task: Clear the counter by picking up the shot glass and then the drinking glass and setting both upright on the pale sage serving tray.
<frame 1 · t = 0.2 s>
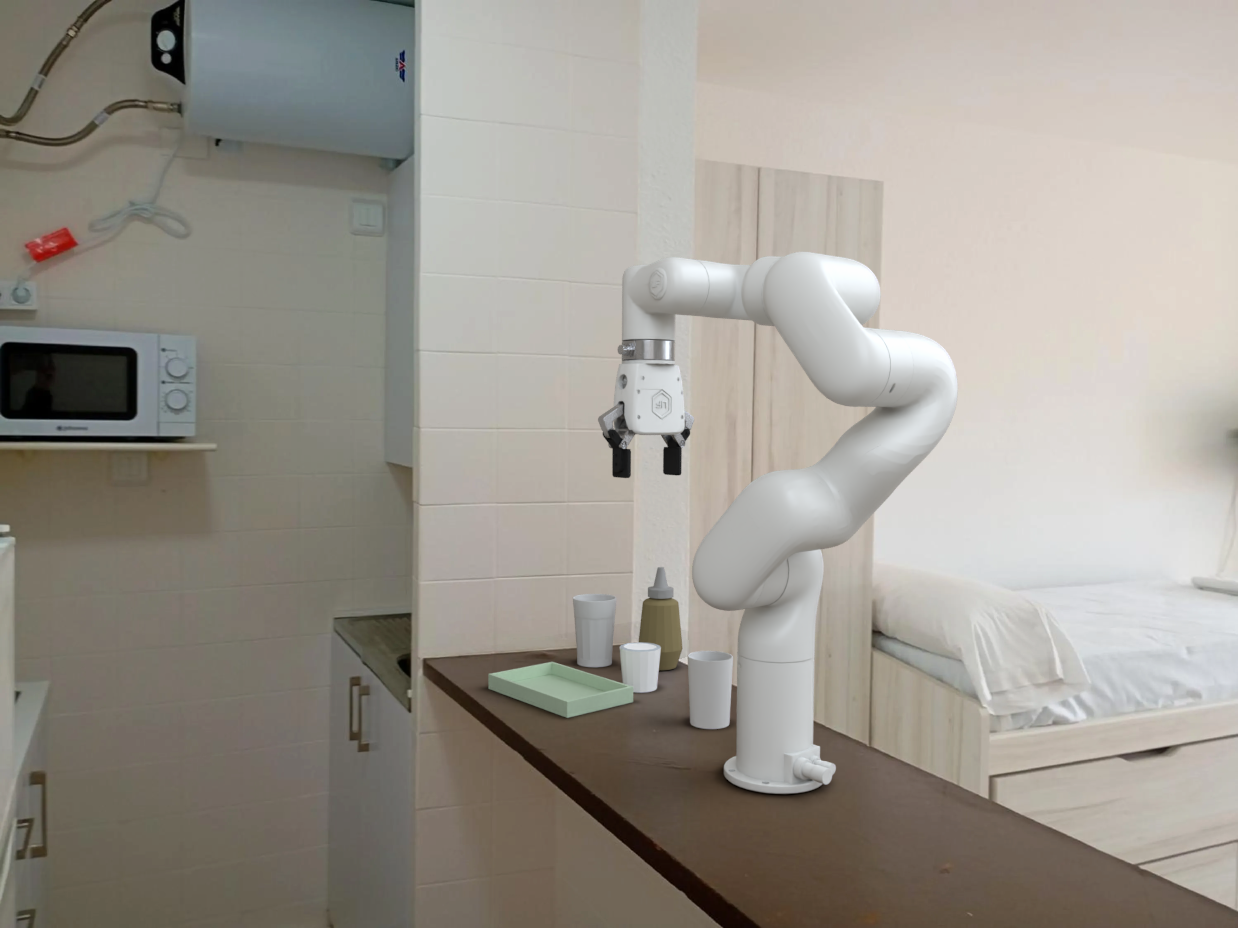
hand: (647, 476, 146), 37 cm above the counter, tool pointing down, fingers open, 9 cm apart
cup: (594, 663, 188), on the counter
drinking glass: (709, 724, 152), on the counter
shot glass: (639, 689, 171), on the counter
squeeze bottle: (660, 668, 185), on the counter
tray: (559, 695, 166), on the counter
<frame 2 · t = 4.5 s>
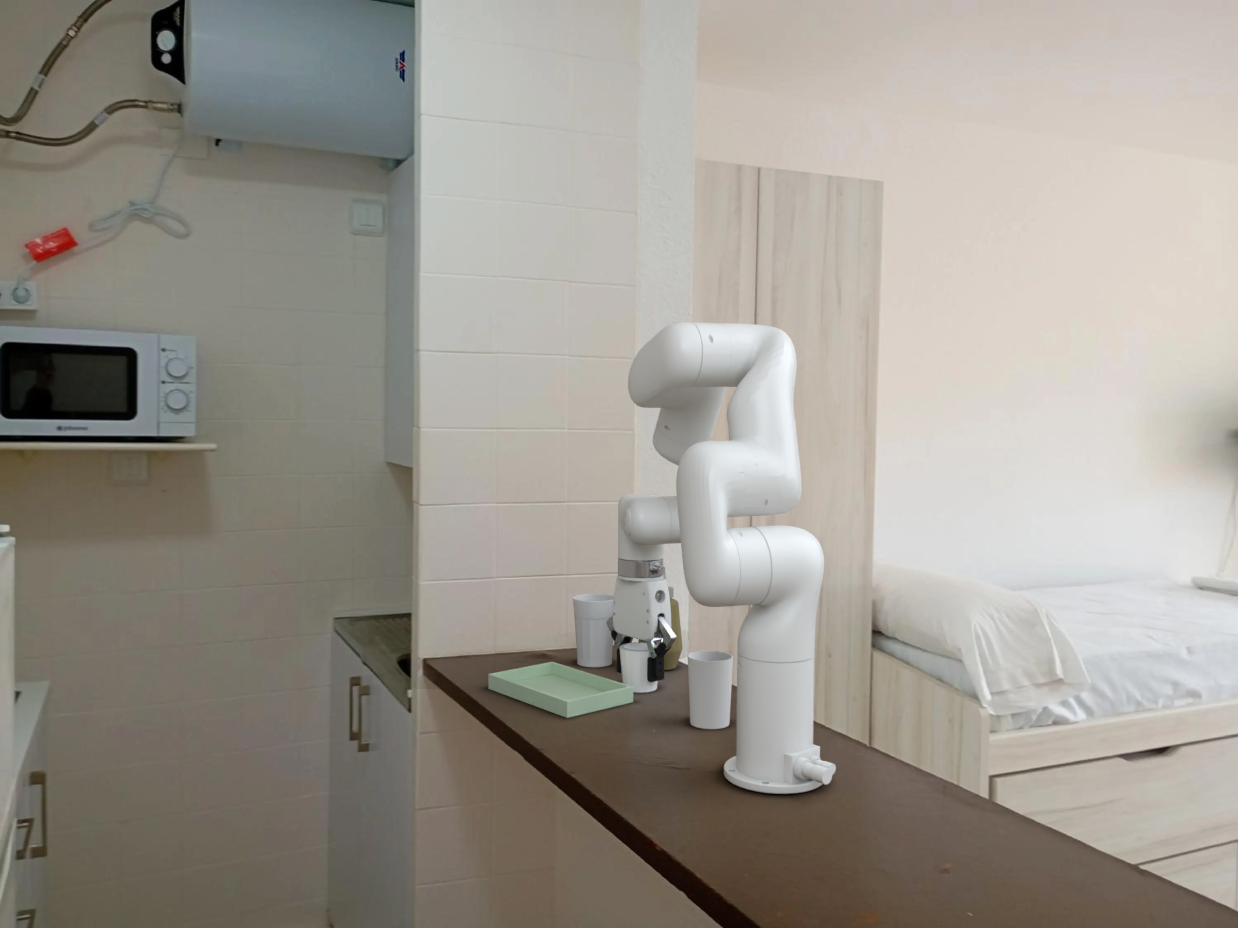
hand: (640, 674, 171), 2 cm above the counter, tool pointing down, fingers closed on shot glass, 6 cm apart
shot glass: (639, 688, 171), on the counter, touching gripper
everything else where it was.
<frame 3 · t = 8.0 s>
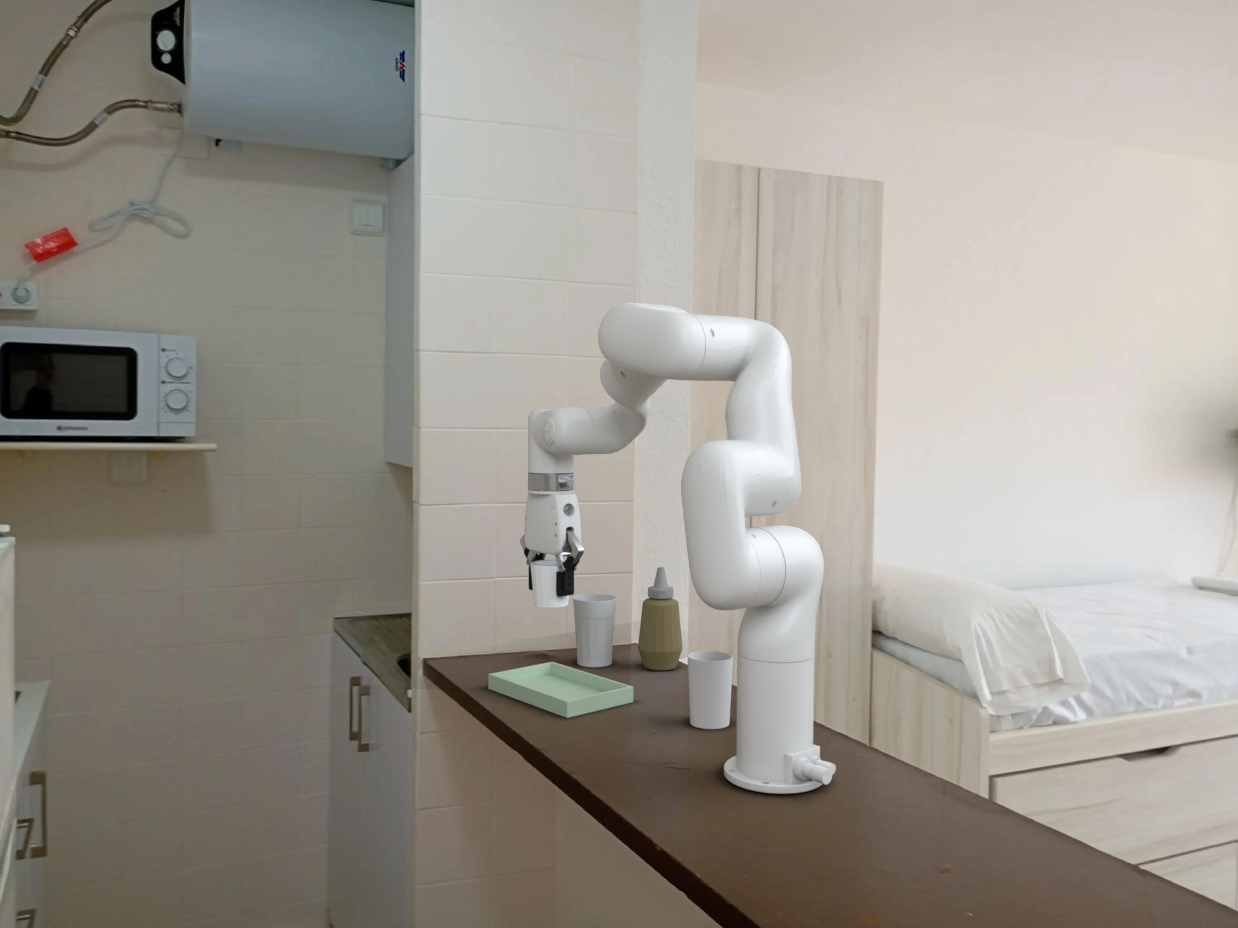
hand: (551, 591, 169), 16 cm above the counter, tool pointing down, fingers closed on shot glass, 6 cm apart
shot glass: (551, 605, 170), point 14 cm above the counter, touching gripper
everything else where it was.
when the fingers open (3 cm above the counter, at t = 11.6 s): shot glass stays where it is, resting on tray.
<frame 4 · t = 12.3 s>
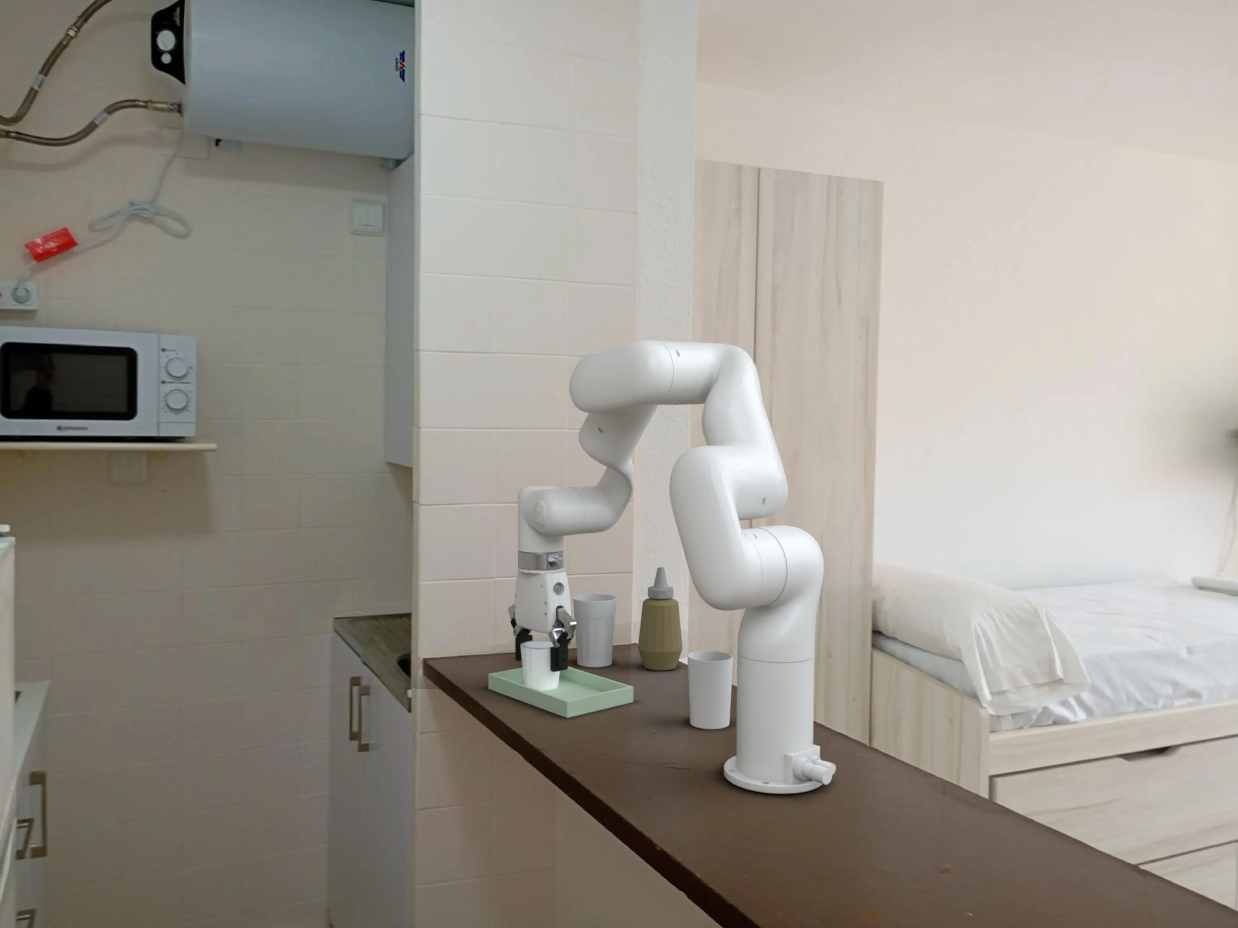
hand: (541, 664, 170), 4 cm above the counter, tool pointing down, fingers open, 9 cm apart
shot glass: (541, 687, 170), resting on tray
everything else where it was.
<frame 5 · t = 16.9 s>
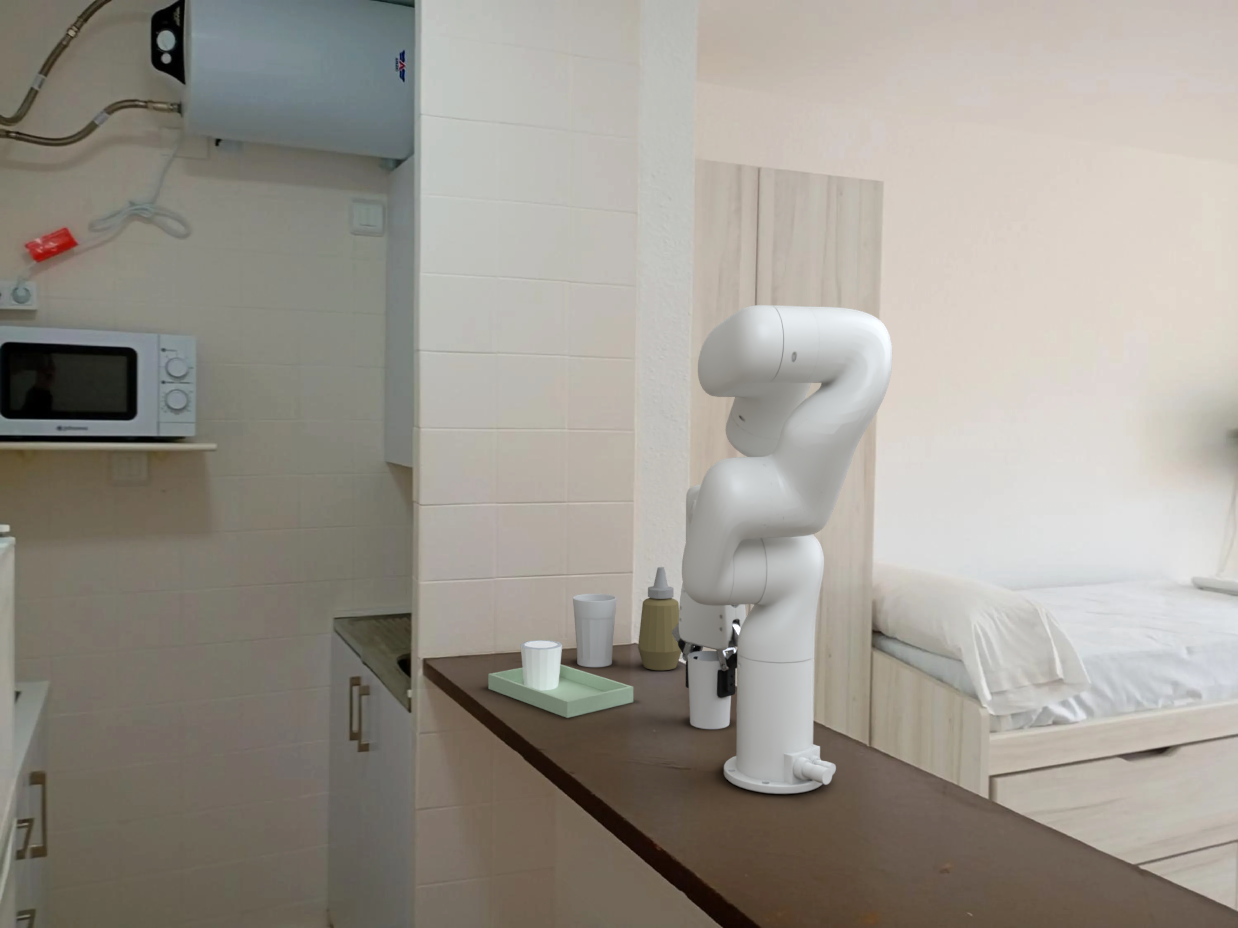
hand: (710, 689, 152), 5 cm above the counter, tool pointing down, fingers closed on drinking glass, 5 cm apart
drinking glass: (709, 724, 152), on the counter, touching gripper
everything else where it was.
when the fingers open (6 cm above the counter, at t = 25.3 s): drinking glass stays where it is, point 1 cm above the counter.
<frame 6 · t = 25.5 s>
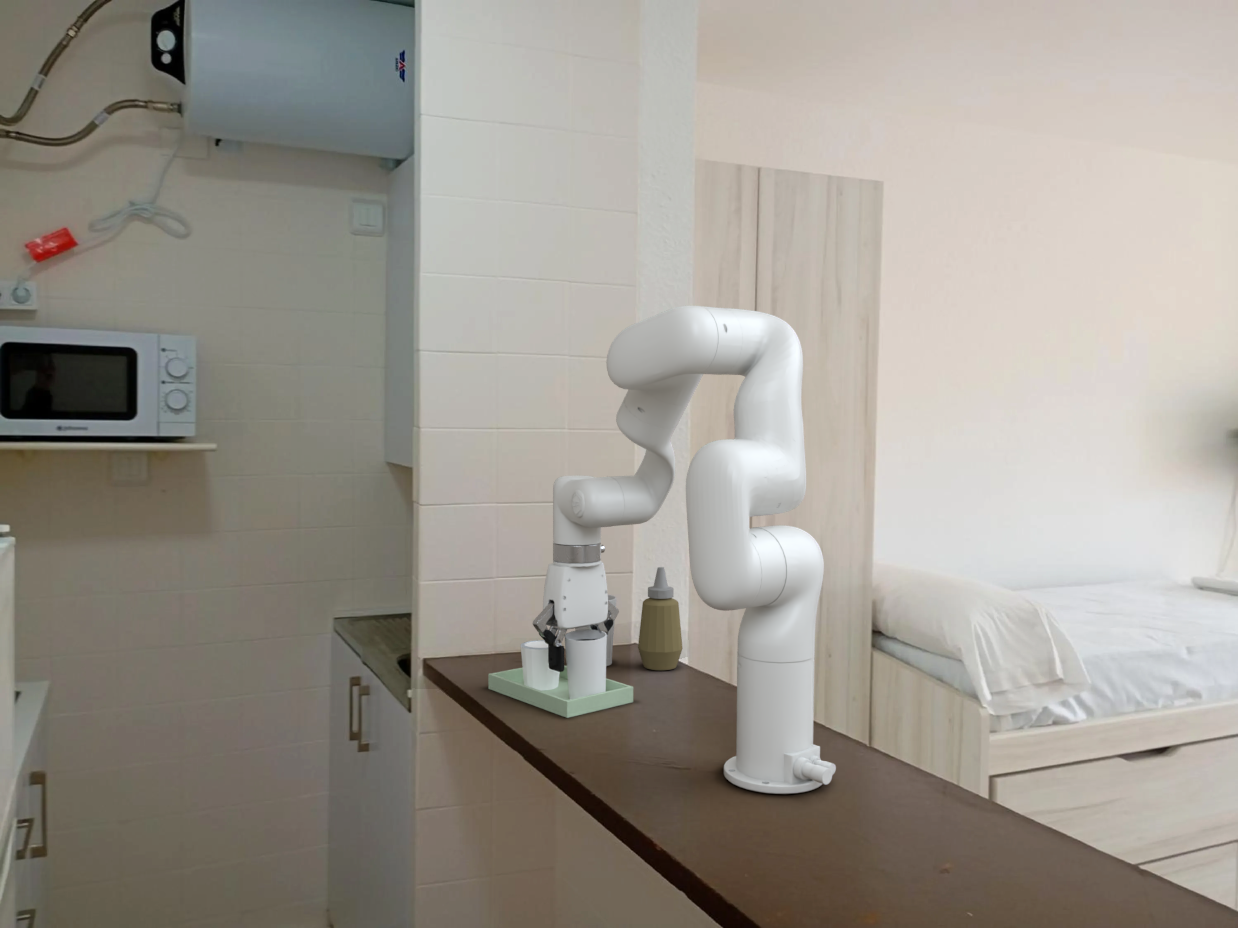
hand: (576, 665, 163), 6 cm above the counter, tool pointing down, fingers open, 7 cm apart
drinking glass: (587, 697, 163), point 1 cm above the counter, touching gripper
everything else where it was.
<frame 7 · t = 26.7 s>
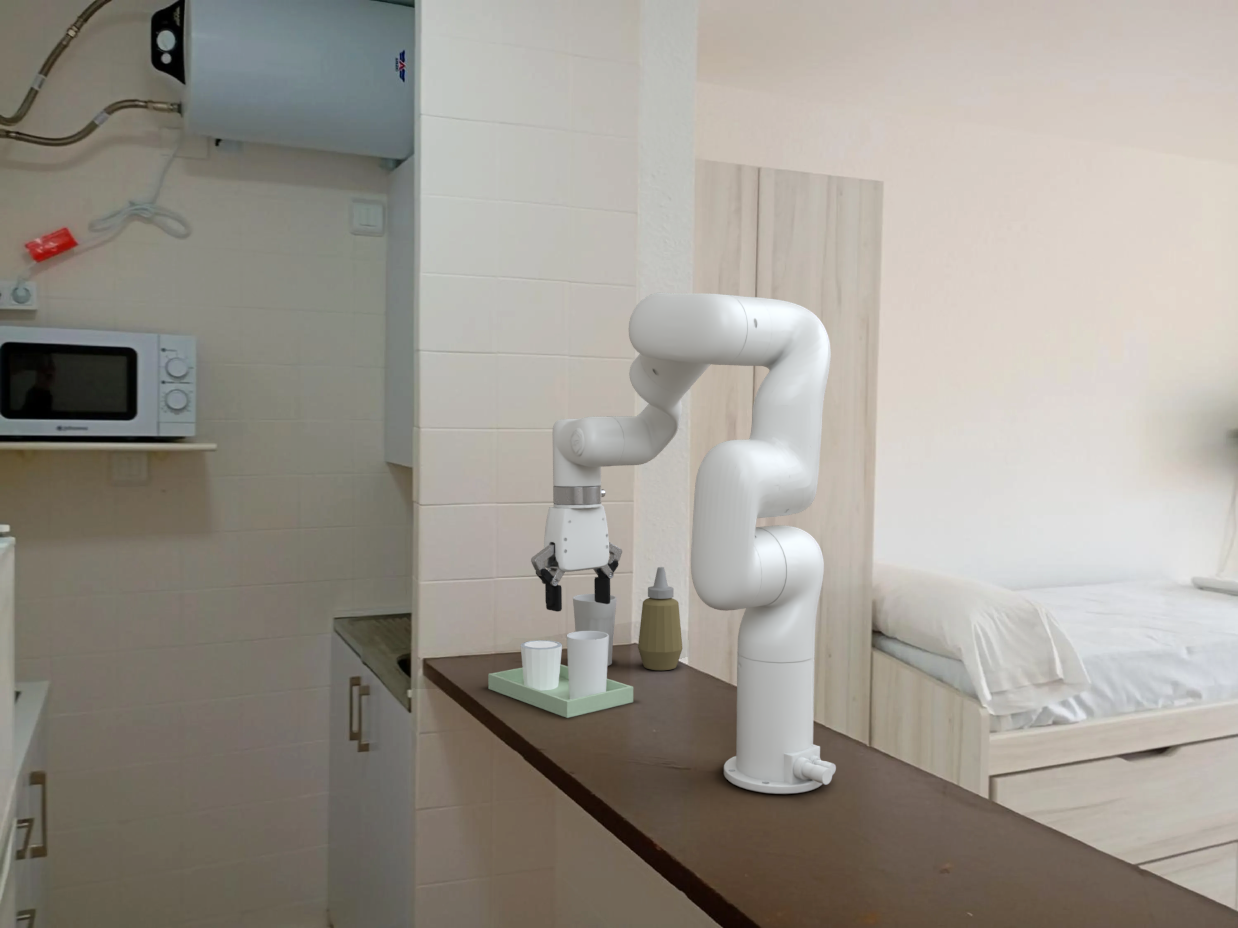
hand: (578, 606, 162), 15 cm above the counter, tool pointing down, fingers open, 9 cm apart
drinking glass: (587, 699, 163), resting on tray
everything else where it was.
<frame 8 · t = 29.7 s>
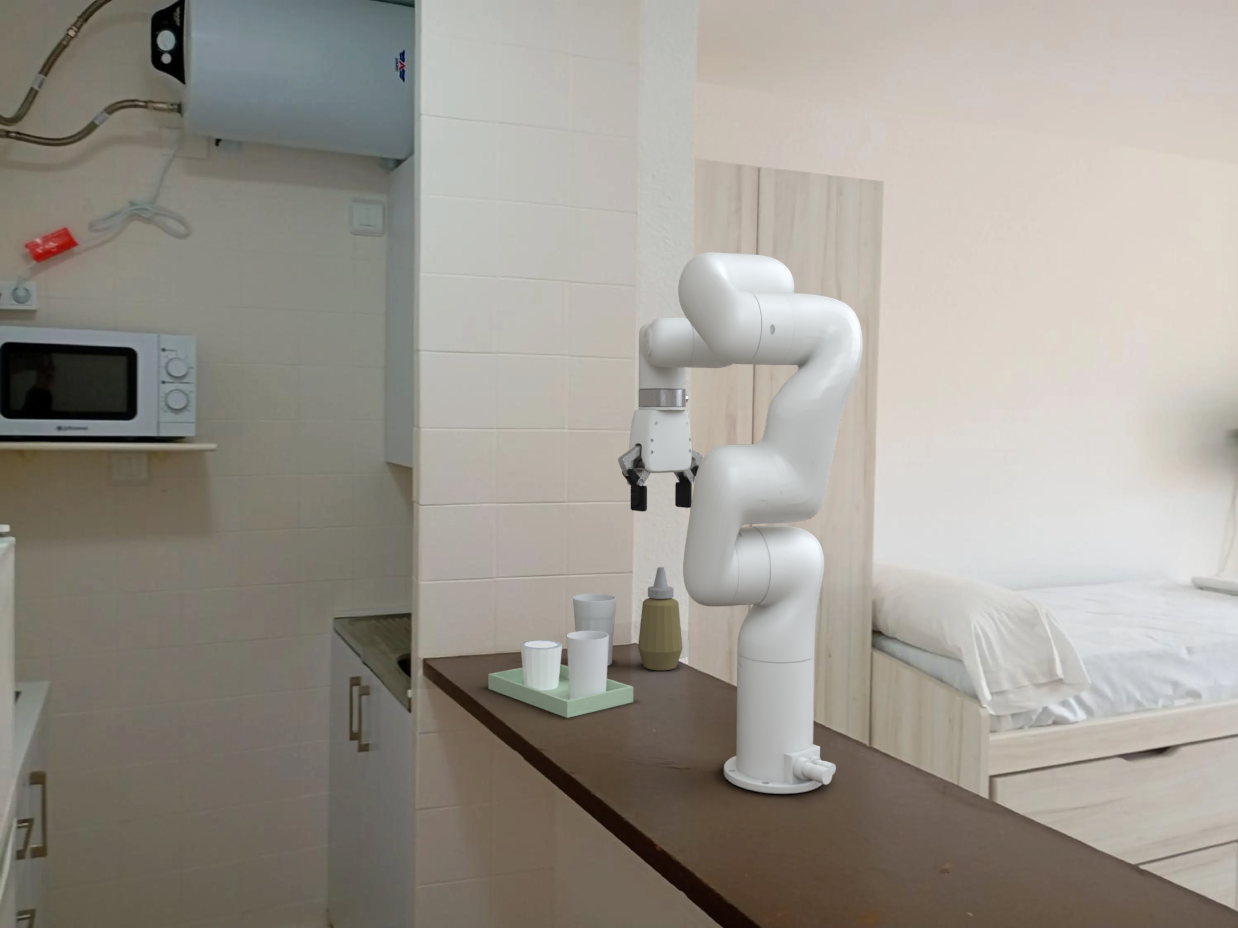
hand: (661, 508, 164), 30 cm above the counter, tool pointing down, fingers open, 9 cm apart
nothing on the counter moved.
at the end: shot glass inside the target area in the tray (4.9 cm from its centre), point 0.3 cm above the tray's base; drinking glass inside the target area in the tray (5.7 cm from its centre), point 0.3 cm above the tray's base; drinking glass tilted 0° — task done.
